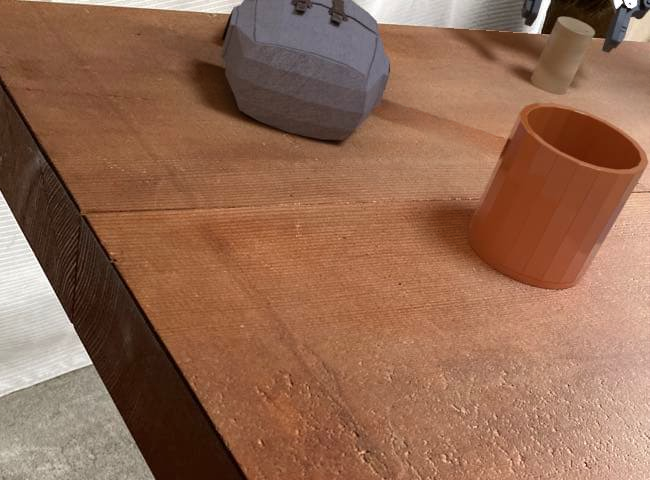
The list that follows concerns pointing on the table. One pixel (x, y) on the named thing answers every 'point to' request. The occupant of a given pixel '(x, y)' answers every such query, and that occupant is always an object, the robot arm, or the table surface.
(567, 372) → the table surface
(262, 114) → the small grey backpack
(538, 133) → the orange cup
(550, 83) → the birch peg
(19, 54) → the table surface
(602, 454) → the table surface
